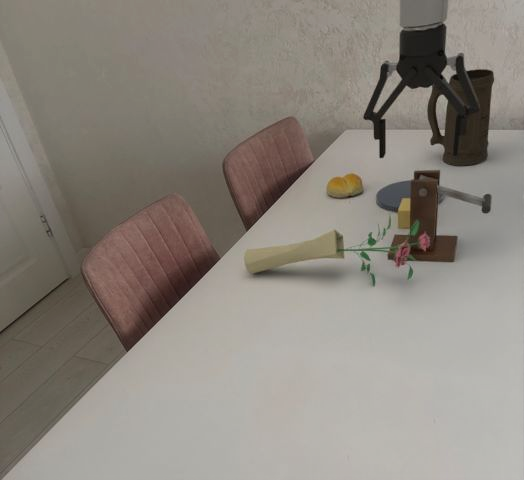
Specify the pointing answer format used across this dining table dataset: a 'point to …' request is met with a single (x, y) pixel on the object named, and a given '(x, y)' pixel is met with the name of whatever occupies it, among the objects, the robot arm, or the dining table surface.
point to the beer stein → (477, 125)
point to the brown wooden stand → (426, 221)
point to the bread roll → (345, 186)
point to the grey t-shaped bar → (465, 196)
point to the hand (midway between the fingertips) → (418, 154)
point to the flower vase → (327, 251)
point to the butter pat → (404, 213)
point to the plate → (395, 195)
